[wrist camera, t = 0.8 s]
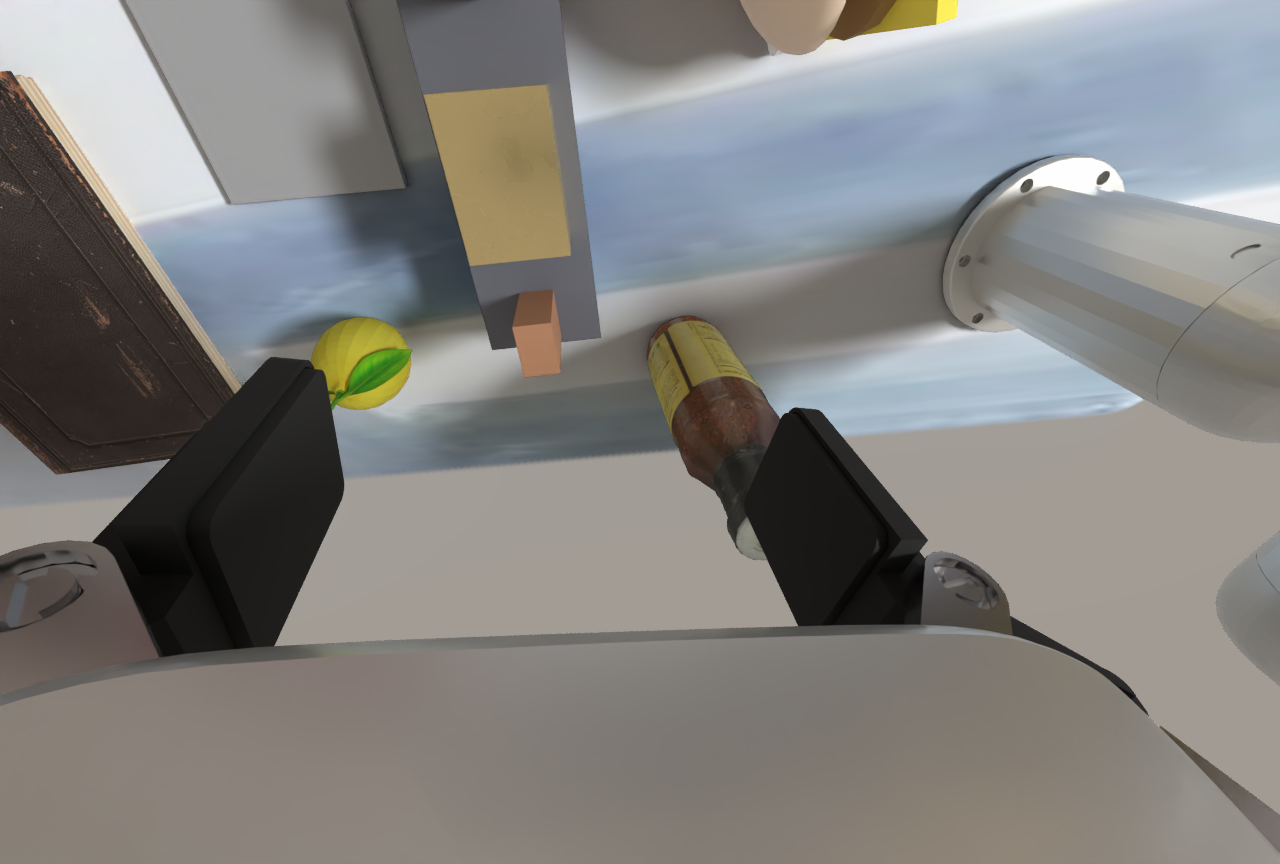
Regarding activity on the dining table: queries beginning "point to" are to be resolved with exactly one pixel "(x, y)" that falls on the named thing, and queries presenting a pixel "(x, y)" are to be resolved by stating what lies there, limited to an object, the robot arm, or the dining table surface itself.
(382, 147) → the mat
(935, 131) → the dining table surface
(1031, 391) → the dining table surface
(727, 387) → the sauce bottle
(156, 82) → the dining table surface
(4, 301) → the hardcover book
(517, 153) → the tan rectangular block
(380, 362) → the lemon
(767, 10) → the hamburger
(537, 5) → the plane body
